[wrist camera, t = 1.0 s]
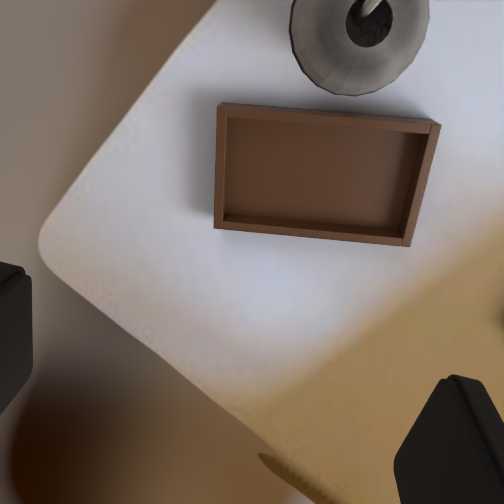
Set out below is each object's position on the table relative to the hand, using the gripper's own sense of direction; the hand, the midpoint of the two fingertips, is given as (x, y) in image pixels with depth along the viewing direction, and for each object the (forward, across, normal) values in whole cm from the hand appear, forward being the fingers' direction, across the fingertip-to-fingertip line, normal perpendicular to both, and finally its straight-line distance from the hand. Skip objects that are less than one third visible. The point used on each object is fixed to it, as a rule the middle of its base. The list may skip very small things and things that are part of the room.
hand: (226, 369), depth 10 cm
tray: (+30, -4, +3) cm, 31 cm away
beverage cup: (+31, -2, -8) cm, 32 cm away
